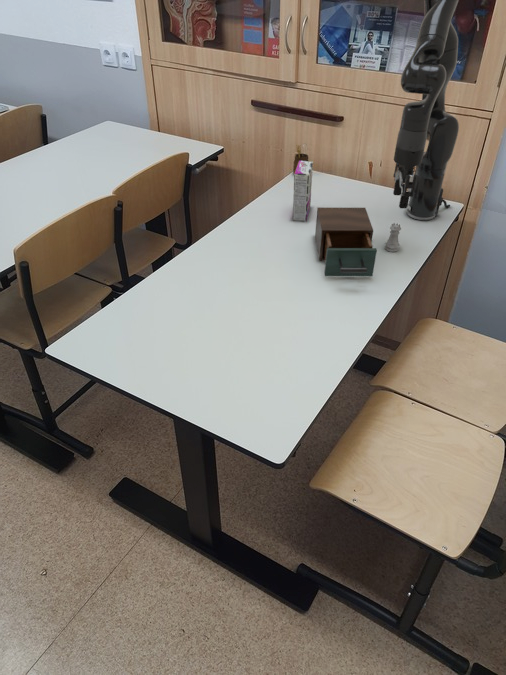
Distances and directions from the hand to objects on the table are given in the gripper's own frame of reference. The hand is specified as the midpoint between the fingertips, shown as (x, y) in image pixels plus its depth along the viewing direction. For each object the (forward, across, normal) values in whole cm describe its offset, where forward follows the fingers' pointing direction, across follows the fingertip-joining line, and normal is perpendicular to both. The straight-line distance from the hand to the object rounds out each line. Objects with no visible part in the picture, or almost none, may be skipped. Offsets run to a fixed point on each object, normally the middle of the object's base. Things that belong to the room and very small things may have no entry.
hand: (399, 201), depth 154 cm
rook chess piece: (+16, 0, 0) cm, 16 cm away
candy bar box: (+16, -23, -26) cm, 38 cm away
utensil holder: (+16, -58, -24) cm, 65 cm away
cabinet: (+16, 0, -15) cm, 22 cm away
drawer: (+15, +13, -15) cm, 25 cm away
